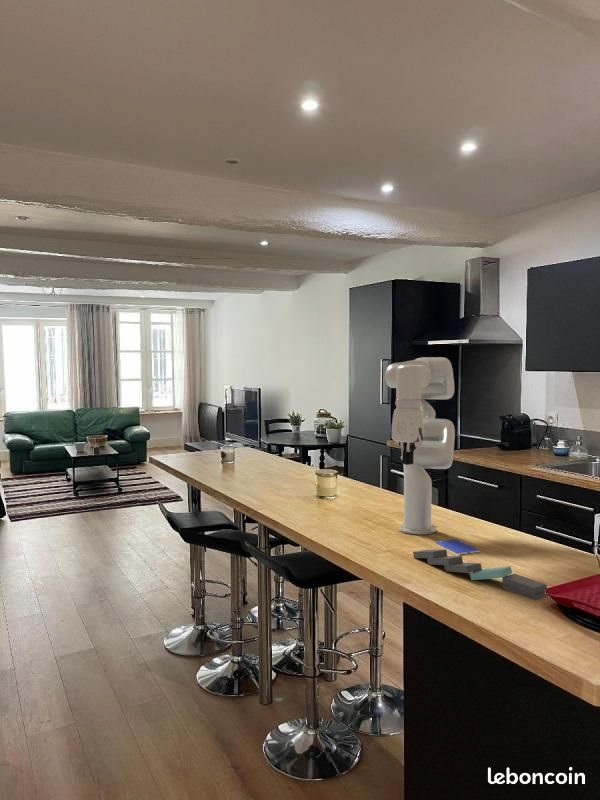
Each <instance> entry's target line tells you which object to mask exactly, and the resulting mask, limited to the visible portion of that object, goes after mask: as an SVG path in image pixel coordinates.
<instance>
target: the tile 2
mask: <svg viewBox="0 0 600 800" xmlns="http://www.w3.org/2000/svg"><path fill="white" fill-rule="evenodd" d="M426 561H427V565H430V566H431V565H432V566H433V565H436V566H444V565H453V564H459V563H463V555H447V556H443V557H437V558H426Z"/></svg>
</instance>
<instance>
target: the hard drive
mask: <svg viewBox="0 0 600 800" xmlns="http://www.w3.org/2000/svg"><path fill="white" fill-rule="evenodd" d="M434 544H437V545H439V546H441V547H443V548H442V549H444V548H445V549H447V551H448V550H449V551H448V552H450V551H452V552H454V553H456V554H465V555H467V554H466V553H473V552H480V553H481V550H480V549H479V548H476V547H474V546H473V545H470V544H467V543H465V542H463V541H461V540H458V539H456V538H453V539H446V540H445V539H444V540H437V541H435V542H434ZM437 545H436V546H437ZM439 546H438V547H439ZM441 547H440V548H441ZM452 552H451V553H452ZM454 553H453V554H454ZM456 554H455V555H456ZM473 554H474V553H473Z"/></svg>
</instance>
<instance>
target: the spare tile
mask: <svg viewBox="0 0 600 800" xmlns="http://www.w3.org/2000/svg"><path fill="white" fill-rule="evenodd" d="M511 574H513V571H512V567H511V566H501V567H499V566H498V567H490V568H489V567H488V568H482V570H480V571H475V572H470V573H469V577H470V580H471V581H478V580H489V579H490V580H491V579H501V578H503V577H505V576H508V575H511Z"/></svg>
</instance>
